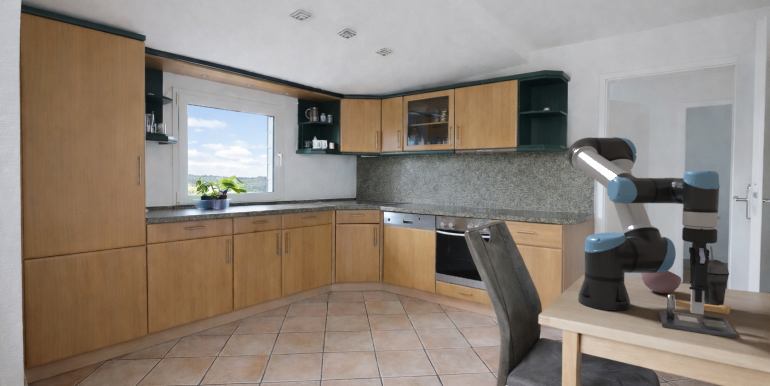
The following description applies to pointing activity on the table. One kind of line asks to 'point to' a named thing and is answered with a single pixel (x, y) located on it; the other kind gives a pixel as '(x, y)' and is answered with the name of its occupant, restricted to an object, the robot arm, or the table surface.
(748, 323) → the table surface
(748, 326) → the table surface
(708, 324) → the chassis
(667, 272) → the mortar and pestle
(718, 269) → the beverage cup
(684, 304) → the wooden lever handle
